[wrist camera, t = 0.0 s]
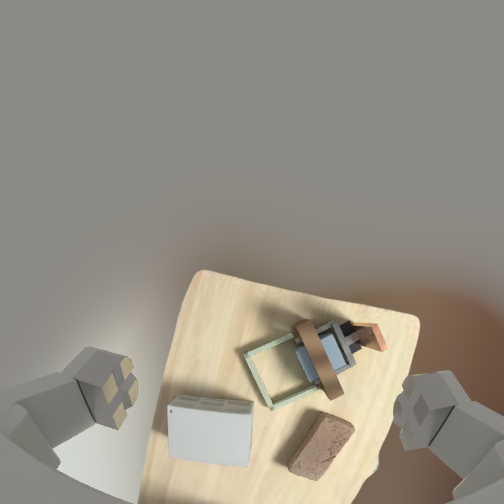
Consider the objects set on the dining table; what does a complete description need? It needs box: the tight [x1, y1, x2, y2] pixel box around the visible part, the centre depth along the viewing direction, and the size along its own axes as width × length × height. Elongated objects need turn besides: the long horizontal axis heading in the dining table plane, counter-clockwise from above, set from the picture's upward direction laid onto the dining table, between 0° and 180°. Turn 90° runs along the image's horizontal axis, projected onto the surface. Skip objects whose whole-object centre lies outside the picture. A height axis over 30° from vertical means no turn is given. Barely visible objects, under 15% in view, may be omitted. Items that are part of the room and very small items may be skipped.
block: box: [294, 333, 346, 382], centre depth 55 cm, size 7×8×6 cm
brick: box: [287, 412, 355, 481], centre depth 51 cm, size 17×8×5 cm, turn 152°
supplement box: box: [167, 394, 254, 467], centre depth 52 cm, size 17×13×9 cm
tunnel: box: [293, 319, 344, 401], centre depth 54 cm, size 16×3×8 cm, turn 24°
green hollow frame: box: [243, 333, 318, 411], centre depth 57 cm, size 14×11×2 cm
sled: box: [295, 320, 387, 385], centre depth 51 cm, size 11×14×13 cm
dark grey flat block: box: [340, 321, 362, 354], centre depth 58 cm, size 7×3×1 cm, turn 24°
